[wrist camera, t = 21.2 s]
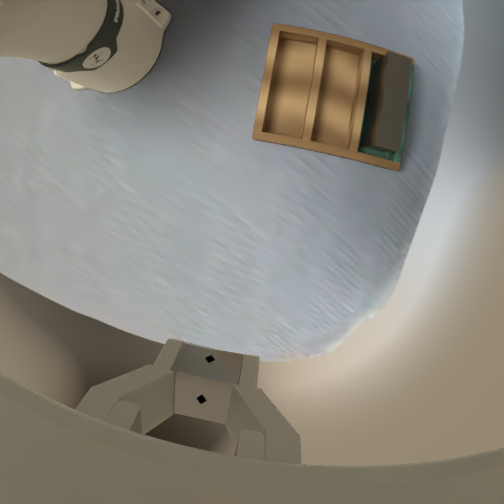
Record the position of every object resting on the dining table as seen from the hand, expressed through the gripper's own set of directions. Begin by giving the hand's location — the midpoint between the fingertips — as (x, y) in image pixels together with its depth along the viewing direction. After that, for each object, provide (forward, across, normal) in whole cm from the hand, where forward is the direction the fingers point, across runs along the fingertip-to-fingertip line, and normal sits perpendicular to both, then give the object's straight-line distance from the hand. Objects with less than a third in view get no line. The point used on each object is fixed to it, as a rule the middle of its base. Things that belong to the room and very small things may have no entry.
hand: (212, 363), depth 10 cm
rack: (+35, +7, +16) cm, 39 cm away
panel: (+34, +13, +16) cm, 40 cm away
